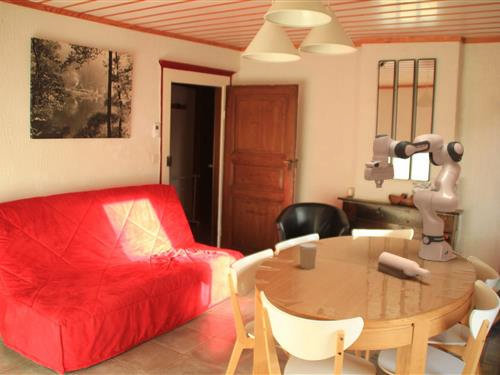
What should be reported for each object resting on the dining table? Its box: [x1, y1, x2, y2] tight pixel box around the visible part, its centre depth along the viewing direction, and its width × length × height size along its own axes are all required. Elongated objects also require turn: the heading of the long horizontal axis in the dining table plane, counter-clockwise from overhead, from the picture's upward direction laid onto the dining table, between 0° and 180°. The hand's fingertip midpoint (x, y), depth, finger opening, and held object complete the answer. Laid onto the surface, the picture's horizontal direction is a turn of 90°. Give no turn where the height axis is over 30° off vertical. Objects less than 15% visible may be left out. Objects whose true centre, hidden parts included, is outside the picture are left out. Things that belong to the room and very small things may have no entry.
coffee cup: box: [299, 242, 318, 270], centre depth 274 cm, size 9×9×12 cm
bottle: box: [378, 251, 432, 279], centre depth 261 cm, size 8×8×30 cm
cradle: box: [377, 261, 421, 280], centre depth 266 cm, size 14×16×4 cm
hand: (378, 187), depth 289 cm, fingers closed
